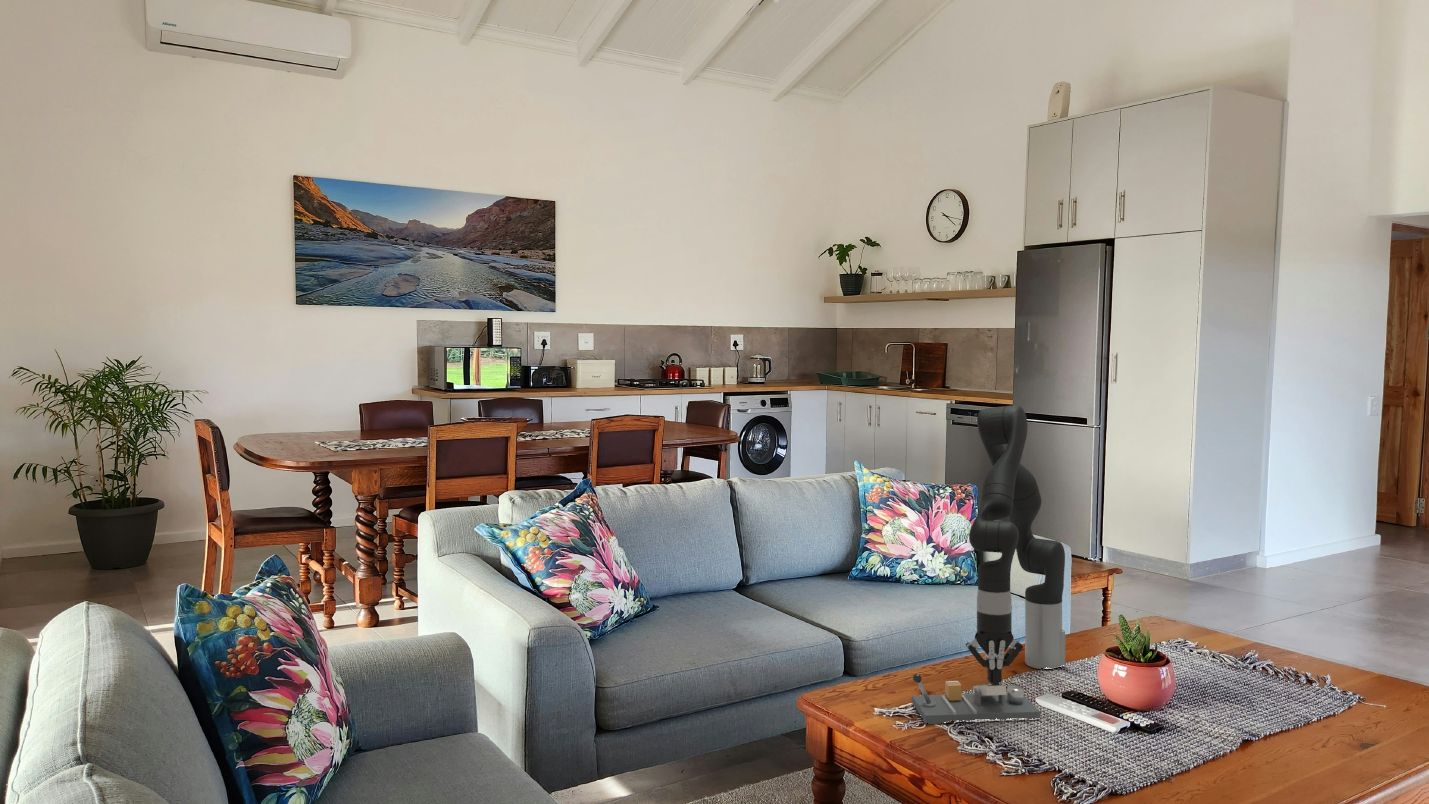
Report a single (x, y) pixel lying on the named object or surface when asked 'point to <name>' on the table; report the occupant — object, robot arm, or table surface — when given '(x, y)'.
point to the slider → (953, 690)
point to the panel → (972, 708)
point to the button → (1015, 694)
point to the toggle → (921, 687)
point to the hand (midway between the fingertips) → (994, 683)
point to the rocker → (991, 689)
